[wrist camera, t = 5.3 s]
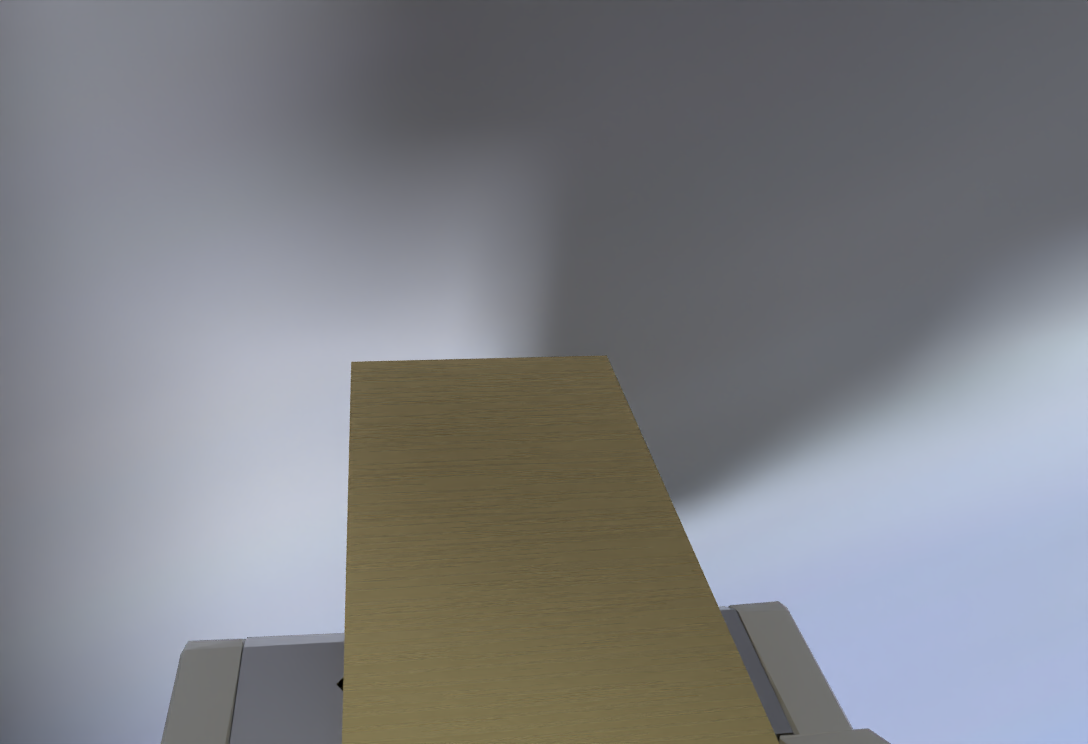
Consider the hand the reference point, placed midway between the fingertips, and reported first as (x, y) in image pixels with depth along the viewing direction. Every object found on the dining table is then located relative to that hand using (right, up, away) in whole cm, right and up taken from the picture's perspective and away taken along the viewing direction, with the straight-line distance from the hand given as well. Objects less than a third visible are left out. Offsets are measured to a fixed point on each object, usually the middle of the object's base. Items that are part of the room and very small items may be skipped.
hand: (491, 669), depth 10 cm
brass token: (0, +1, +1) cm, 2 cm away
